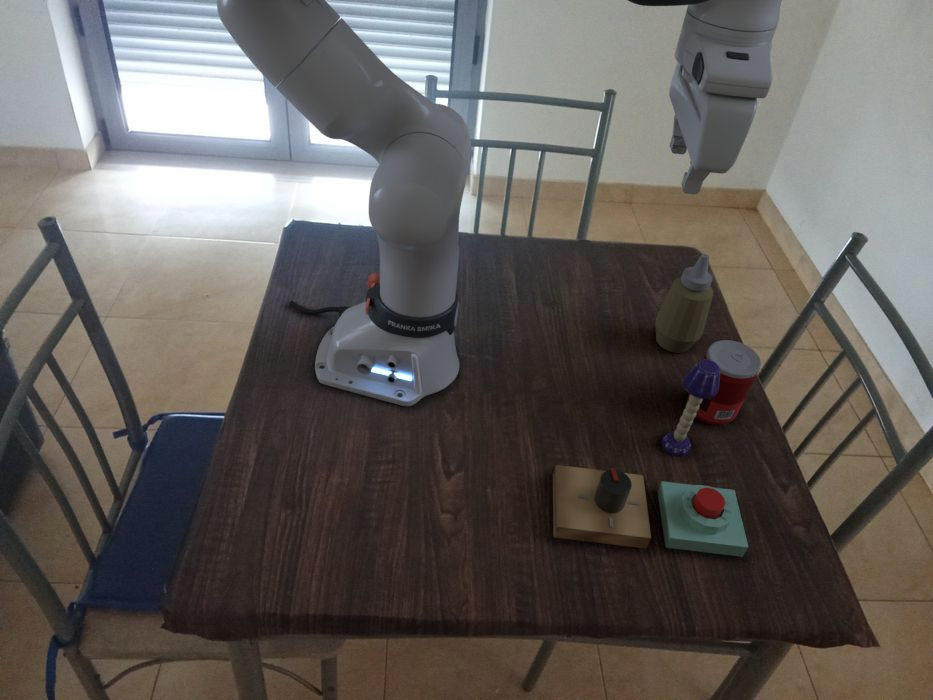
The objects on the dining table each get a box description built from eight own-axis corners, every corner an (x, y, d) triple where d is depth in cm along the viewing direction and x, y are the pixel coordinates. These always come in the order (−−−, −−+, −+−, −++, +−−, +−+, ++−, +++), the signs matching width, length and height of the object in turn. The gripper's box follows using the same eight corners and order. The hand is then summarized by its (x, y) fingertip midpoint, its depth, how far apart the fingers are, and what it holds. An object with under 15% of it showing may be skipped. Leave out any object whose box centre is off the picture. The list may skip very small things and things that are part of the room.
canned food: (744, 408, 112) (770, 357, 104) (721, 435, 107) (746, 383, 100) (701, 383, 115) (723, 332, 108) (676, 407, 111) (698, 356, 103)
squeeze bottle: (655, 357, 119) (686, 269, 107) (644, 326, 125) (673, 239, 113) (702, 359, 120) (738, 272, 108) (689, 328, 126) (722, 242, 114)
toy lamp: (690, 462, 103) (728, 381, 91) (658, 456, 103) (692, 373, 92) (689, 438, 106) (726, 356, 95) (658, 431, 107) (691, 349, 95)
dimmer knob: (628, 513, 92) (636, 492, 89) (598, 513, 92) (605, 493, 89) (620, 487, 95) (627, 467, 92) (591, 488, 94) (597, 468, 92)
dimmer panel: (553, 537, 91) (556, 526, 90) (552, 475, 99) (556, 463, 97) (646, 549, 91) (651, 537, 89) (638, 486, 99) (643, 474, 97)
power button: (695, 516, 91) (699, 508, 90) (690, 493, 94) (694, 485, 93) (723, 520, 91) (727, 512, 90) (718, 497, 94) (722, 489, 93)
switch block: (665, 547, 92) (673, 530, 89) (657, 491, 98) (664, 473, 96) (742, 557, 92) (753, 539, 89) (729, 499, 98) (738, 482, 96)
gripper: (676, 11, 80) (645, 127, 89) (708, 81, 65) (667, 212, 74) (732, 17, 80) (695, 133, 89) (777, 89, 65) (727, 219, 74)
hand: (682, 170), depth 81 cm, fingers open, 8 cm apart
